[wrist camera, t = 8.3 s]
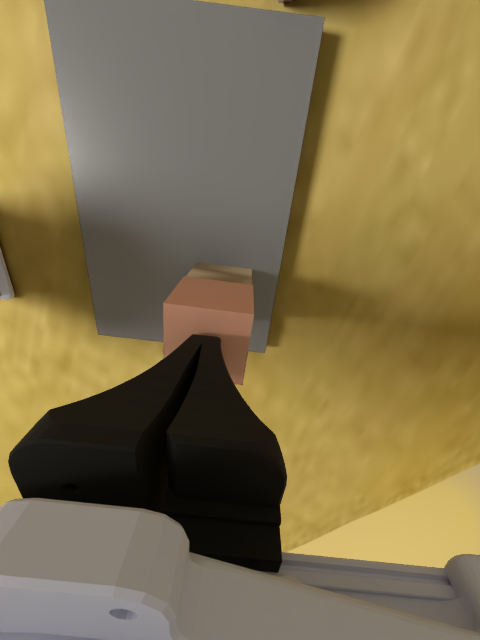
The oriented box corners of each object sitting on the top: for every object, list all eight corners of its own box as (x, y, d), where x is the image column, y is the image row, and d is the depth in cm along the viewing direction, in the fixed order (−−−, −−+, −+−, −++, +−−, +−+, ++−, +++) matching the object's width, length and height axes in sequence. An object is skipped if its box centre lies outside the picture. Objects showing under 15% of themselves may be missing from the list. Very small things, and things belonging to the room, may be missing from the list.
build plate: (105, 327, 23) (98, 334, 22) (57, -3, 14) (40, -20, 13) (264, 345, 23) (264, 352, 22) (319, 30, 14) (324, 17, 13)
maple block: (194, 312, 20) (182, 338, 17) (196, 262, 19) (183, 279, 15) (245, 318, 20) (244, 345, 17) (251, 269, 19) (252, 287, 15)
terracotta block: (182, 335, 17) (164, 375, 13) (184, 276, 15) (163, 303, 11) (244, 343, 17) (242, 385, 13) (253, 285, 15) (254, 314, 11)
